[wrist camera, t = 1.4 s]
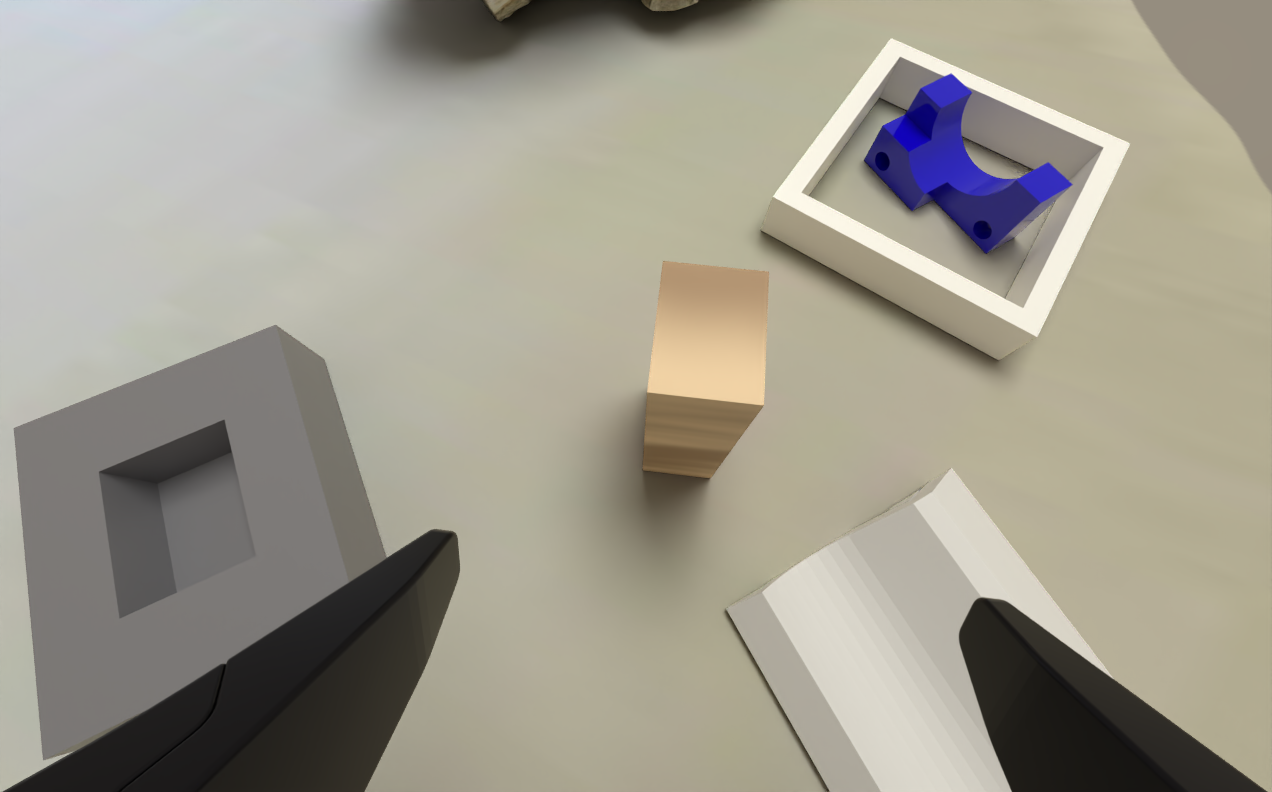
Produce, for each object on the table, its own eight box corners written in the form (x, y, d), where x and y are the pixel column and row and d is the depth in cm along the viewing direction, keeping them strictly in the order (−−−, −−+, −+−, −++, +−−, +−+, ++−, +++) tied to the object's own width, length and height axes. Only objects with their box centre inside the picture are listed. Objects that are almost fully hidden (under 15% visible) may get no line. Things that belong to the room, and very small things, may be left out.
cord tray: (998, 360, 24) (1037, 336, 22) (760, 230, 27) (772, 196, 25) (1088, 180, 28) (1129, 143, 26) (871, 80, 31) (891, 38, 28)
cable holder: (862, 162, 29) (896, 100, 25) (910, 138, 29) (951, 72, 26) (962, 268, 26) (1016, 217, 23) (1012, 239, 27) (1072, 184, 23)
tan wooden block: (710, 478, 23) (763, 405, 13) (642, 470, 23) (647, 392, 13) (716, 393, 24) (768, 271, 15) (652, 385, 24) (662, 261, 15)
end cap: (400, 603, 21) (356, 607, 18) (143, 729, 19) (43, 760, 16) (324, 359, 24) (275, 324, 21) (103, 449, 23) (13, 428, 20)
